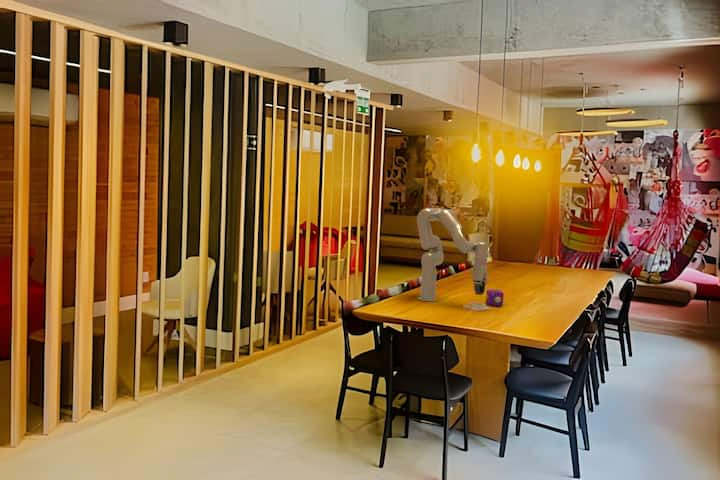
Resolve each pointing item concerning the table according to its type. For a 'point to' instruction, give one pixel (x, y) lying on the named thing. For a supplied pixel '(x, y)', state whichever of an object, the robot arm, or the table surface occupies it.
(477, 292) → the lens
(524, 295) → the table surface
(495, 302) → the toy camera
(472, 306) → the lens mount
